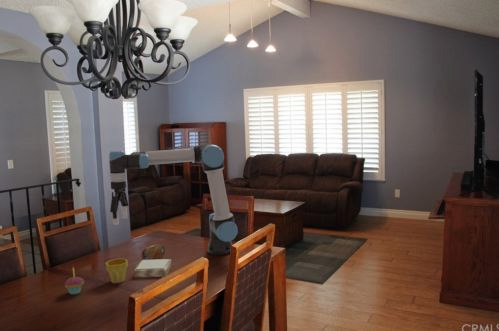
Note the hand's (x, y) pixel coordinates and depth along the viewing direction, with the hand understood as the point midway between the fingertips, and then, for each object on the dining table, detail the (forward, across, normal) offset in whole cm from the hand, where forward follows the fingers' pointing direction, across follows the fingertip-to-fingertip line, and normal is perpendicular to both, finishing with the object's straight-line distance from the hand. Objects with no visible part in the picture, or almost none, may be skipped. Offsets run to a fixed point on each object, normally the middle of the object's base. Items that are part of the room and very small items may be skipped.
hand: (120, 221), depth 225 cm
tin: (+27, -17, +12) cm, 34 cm away
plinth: (+27, +1, +16) cm, 31 cm away
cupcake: (+27, +27, -14) cm, 41 cm away
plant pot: (+27, +13, +2) cm, 30 cm away
